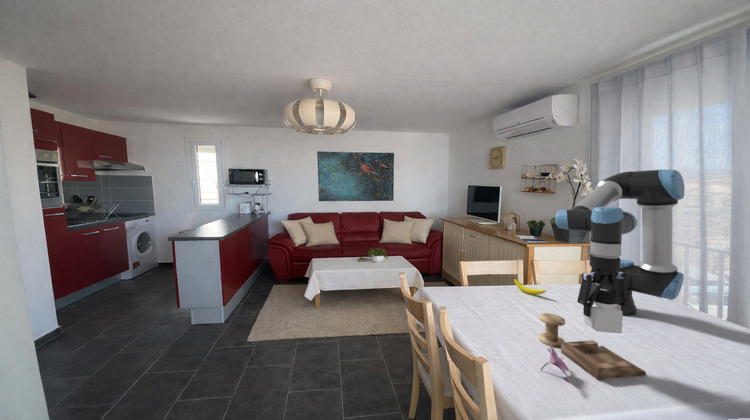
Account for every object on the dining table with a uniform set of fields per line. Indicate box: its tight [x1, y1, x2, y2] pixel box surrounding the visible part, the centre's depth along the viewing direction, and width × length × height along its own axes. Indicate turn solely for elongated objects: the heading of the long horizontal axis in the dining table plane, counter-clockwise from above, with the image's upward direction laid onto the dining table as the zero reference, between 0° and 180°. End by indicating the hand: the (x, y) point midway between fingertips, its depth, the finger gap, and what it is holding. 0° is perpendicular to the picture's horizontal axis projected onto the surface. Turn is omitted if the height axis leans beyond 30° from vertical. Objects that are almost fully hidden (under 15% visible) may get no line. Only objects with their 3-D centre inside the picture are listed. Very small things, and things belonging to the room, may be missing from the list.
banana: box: [512, 277, 547, 295], centre depth 149 cm, size 3×19×6 cm, turn 26°
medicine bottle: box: [583, 289, 624, 334], centre depth 88 cm, size 7×7×12 cm
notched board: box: [560, 339, 647, 381], centre depth 89 cm, size 16×14×4 cm
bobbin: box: [538, 312, 566, 348], centre depth 102 cm, size 8×8×9 cm
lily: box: [540, 336, 571, 382], centre depth 84 cm, size 12×12×10 cm
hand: (601, 324), depth 88 cm, fingers closed on medicine bottle, 8 cm apart
